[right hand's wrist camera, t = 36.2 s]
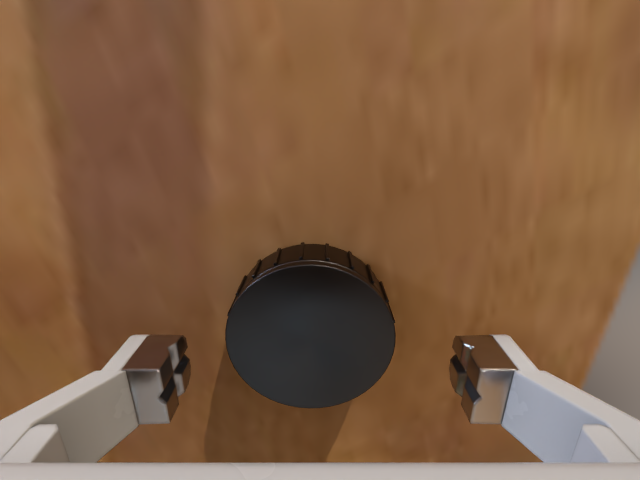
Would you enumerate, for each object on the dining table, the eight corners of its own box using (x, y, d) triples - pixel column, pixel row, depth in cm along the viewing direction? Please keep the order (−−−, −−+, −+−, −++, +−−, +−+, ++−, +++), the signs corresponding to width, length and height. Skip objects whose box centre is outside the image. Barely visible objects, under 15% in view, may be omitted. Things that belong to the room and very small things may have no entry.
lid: (297, 395, 15) (293, 434, 13) (204, 296, 13) (185, 325, 11) (415, 327, 14) (429, 359, 12) (329, 209, 12) (330, 226, 10)
